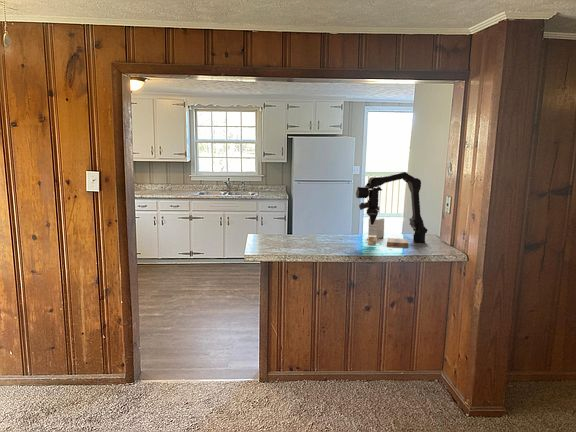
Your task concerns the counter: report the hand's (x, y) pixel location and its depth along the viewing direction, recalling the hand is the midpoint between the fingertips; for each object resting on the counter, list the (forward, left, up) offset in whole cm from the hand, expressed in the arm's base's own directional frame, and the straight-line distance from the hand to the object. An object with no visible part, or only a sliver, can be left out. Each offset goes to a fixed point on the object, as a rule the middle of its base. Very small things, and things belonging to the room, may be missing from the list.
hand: (372, 223), depth 252 cm
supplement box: (-1, -19, -12) cm, 22 cm away
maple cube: (0, 0, -12) cm, 12 cm away
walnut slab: (-15, 0, -13) cm, 20 cm away
